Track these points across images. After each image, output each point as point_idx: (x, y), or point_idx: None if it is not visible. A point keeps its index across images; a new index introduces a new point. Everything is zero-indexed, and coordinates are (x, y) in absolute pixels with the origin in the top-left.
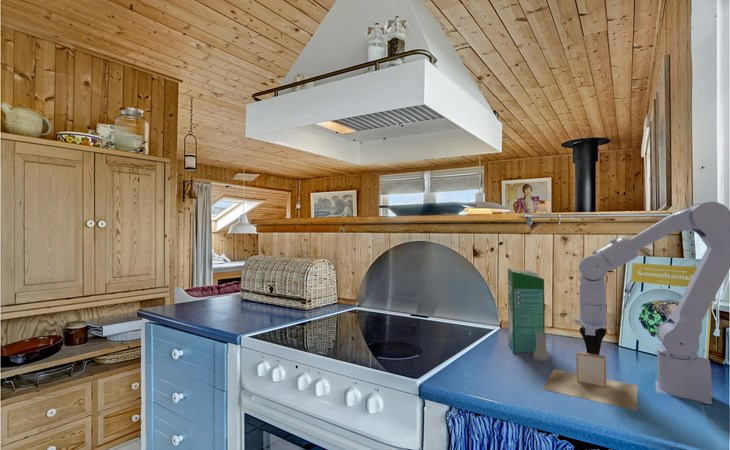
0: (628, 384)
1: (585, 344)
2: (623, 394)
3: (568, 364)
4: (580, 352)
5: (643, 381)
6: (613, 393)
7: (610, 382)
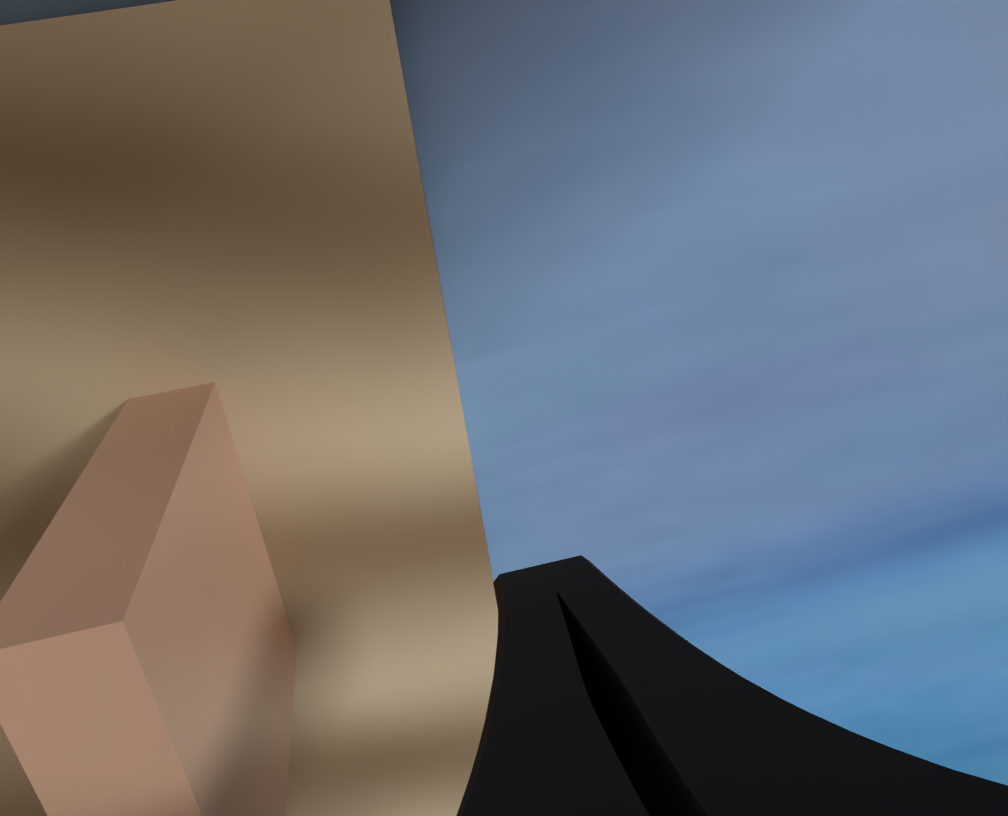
0: None
1: (486, 724)
2: None
3: (833, 56)
4: (96, 689)
5: None
6: None
7: (427, 644)
